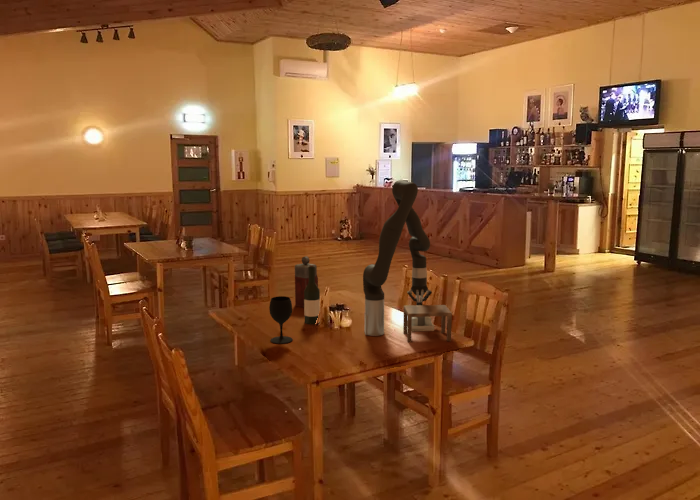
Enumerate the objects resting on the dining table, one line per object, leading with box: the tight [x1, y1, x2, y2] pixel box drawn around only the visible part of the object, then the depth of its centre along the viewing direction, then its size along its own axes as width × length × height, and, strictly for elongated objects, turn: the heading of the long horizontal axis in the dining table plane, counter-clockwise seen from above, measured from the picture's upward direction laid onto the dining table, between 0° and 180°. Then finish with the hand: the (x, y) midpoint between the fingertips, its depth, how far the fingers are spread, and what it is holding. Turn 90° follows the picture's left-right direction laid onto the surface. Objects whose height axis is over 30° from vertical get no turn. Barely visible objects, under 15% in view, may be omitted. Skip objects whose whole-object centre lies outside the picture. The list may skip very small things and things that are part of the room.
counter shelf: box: [402, 304, 453, 343], centre depth 273 cm, size 20×14×14 cm
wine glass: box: [269, 295, 294, 345], centre depth 267 cm, size 10×10×20 cm
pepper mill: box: [294, 256, 319, 308], centre depth 329 cm, size 9×11×28 cm
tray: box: [407, 316, 435, 332], centre depth 287 cm, size 12×10×7 cm
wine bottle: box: [303, 263, 321, 325], centre depth 295 cm, size 8×8×30 cm
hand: (419, 309), depth 296 cm, fingers closed
